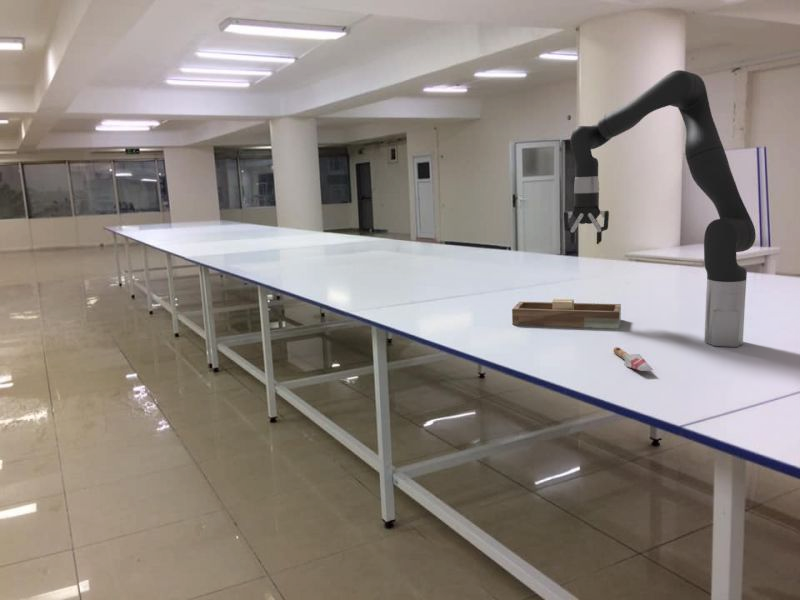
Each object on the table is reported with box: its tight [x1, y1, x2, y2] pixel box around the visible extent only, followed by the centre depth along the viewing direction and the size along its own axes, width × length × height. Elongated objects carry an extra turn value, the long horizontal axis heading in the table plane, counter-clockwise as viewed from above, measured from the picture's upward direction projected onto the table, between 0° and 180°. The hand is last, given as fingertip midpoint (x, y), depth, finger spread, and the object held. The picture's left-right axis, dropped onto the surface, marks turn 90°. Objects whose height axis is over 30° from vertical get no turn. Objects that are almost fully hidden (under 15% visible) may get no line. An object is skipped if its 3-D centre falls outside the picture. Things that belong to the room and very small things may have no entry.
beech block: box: [551, 298, 575, 310], centre depth 200 cm, size 5×6×4 cm
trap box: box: [511, 301, 622, 330], centre depth 200 cm, size 12×32×5 cm, turn 69°
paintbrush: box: [612, 346, 654, 372], centre depth 155 cm, size 4×3×20 cm
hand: (586, 243), depth 202 cm, fingers open, 7 cm apart
